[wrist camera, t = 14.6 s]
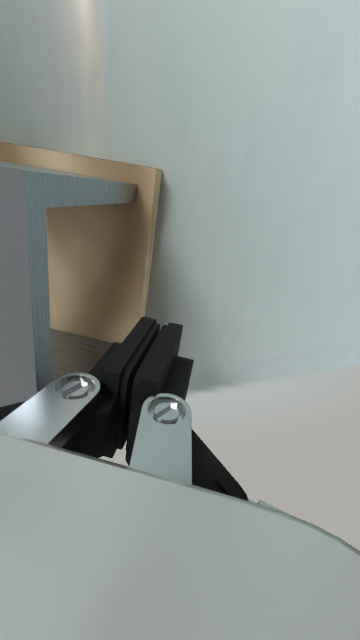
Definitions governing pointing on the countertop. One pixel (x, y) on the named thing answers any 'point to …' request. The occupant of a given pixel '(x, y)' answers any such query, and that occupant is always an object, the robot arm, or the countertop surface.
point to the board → (97, 247)
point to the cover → (40, 277)
